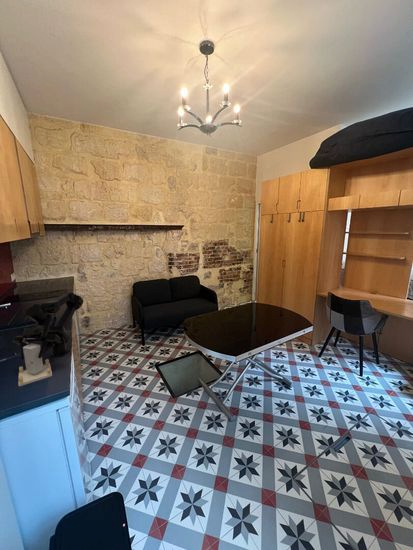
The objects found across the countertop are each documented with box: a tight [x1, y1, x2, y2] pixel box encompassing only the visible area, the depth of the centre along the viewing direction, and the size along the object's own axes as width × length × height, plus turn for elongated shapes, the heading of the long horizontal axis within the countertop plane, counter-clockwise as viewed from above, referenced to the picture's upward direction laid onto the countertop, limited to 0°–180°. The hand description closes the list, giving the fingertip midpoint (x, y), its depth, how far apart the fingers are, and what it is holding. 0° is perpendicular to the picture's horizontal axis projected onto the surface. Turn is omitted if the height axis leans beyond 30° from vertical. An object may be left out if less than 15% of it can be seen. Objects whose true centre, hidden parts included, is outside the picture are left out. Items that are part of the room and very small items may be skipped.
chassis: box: [17, 358, 53, 387], centre depth 107 cm, size 12×12×4 cm
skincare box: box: [23, 342, 44, 374], centre depth 106 cm, size 6×4×12 cm
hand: (30, 358), depth 105 cm, fingers closed on skincare box, 7 cm apart
